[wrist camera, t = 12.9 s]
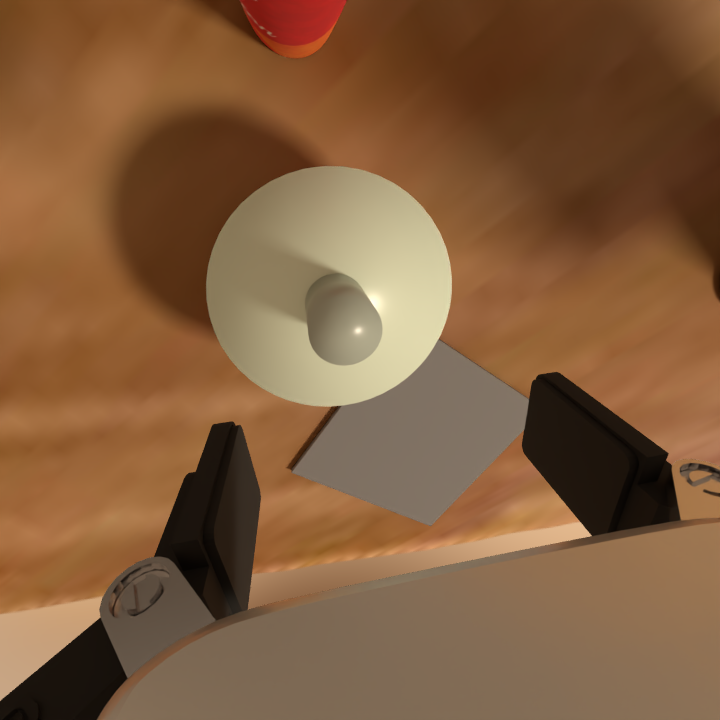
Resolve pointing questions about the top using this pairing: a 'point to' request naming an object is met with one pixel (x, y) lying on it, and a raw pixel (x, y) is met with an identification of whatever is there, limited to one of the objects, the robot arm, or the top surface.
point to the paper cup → (293, 23)
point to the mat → (418, 437)
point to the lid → (328, 286)
